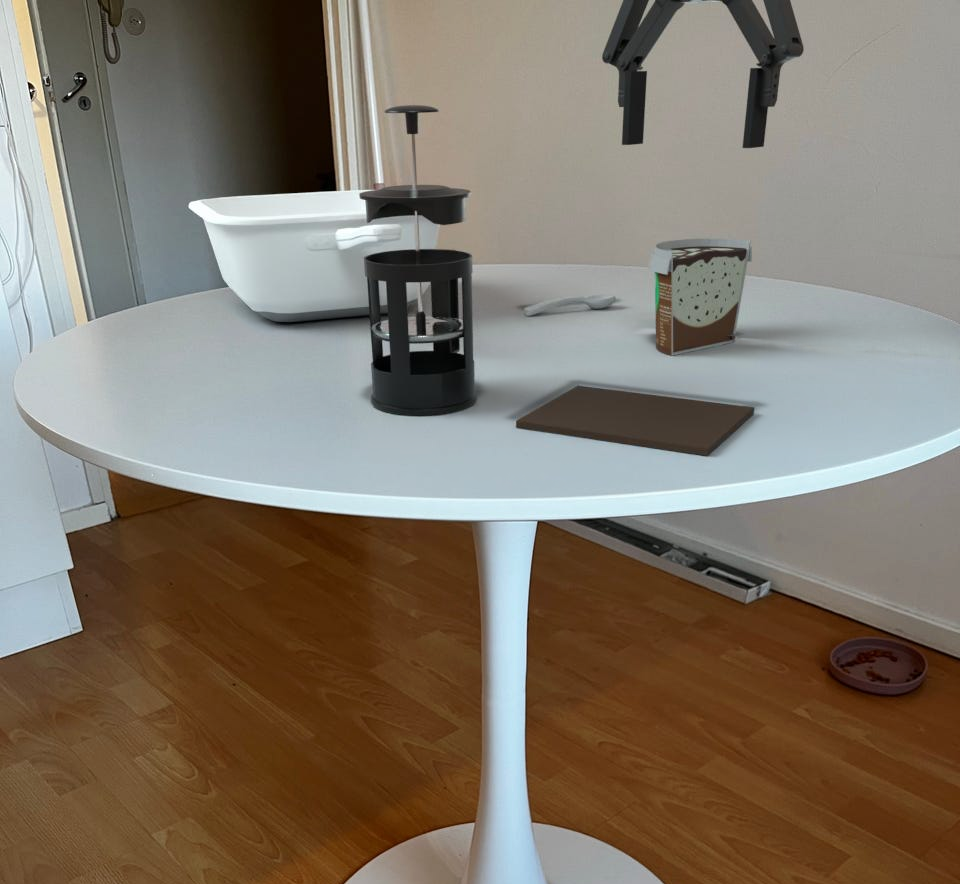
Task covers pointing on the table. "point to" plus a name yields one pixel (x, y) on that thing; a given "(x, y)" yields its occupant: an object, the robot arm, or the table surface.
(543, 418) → the mat
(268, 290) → the white dish tub
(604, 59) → the robot arm
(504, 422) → the table surface
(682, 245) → the food container
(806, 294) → the table surface
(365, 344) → the table surface
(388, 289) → the french press
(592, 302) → the spoon
